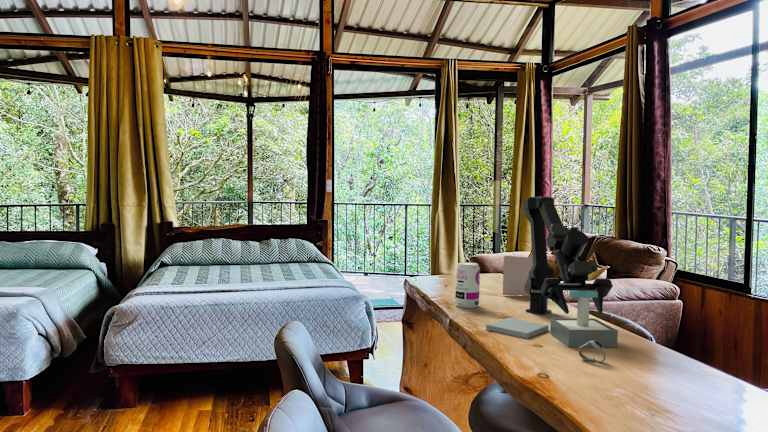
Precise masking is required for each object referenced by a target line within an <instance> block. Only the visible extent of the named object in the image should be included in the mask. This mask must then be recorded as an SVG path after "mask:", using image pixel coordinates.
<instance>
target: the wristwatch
mask: <svg viewBox="0 0 768 432" xmlns="http://www.w3.org/2000/svg"><path fill="white" fill-rule="evenodd" d="M588 344H591V345H593V347H592V348H594V349H596V350H598V351H599V352H600V353H601V354H602V357H603V359H602V360H597V359H596V358H592V357H589V356H587V355H584V354H583V353H582V351H581V349H583V348H585V347H584V346H586V345H588ZM578 355H579V357H580V358H582V360H583V361H586V362H589V363H594V362H597V363H596V364H602V363H603V362H605V361H606V358H607V355H606V351H605V347H603V346H602V345H601V344H600V343H598V342H597V341H589V342H587V343H586V344H584V345H582V346H580V347H578Z"/></svg>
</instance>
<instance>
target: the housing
mask: <svg viewBox="0 0 768 432" xmlns="http://www.w3.org/2000/svg"><path fill="white" fill-rule="evenodd" d="M556 320H577V317H576V318H570V317H569V318H564V317H563V318H562V317H560V318H559V317H558V318H555V317H554V318H550V324H549V325H550V328H549V329H550V331H549V334H550V335H551V336H552V337H554V338H555V339H556V340H558V341H559V342H560V343H562V344H563V345H564V344H565V345H564V346H566V347H568V348H579V347H580V346H582V345H584V344H586V343H587V342H589V341H597V342H598V343H600V344H601V345H602V346H603V347H604V348H618V336H619V335H618V332H619V331H618V330H617V329H616V328H615V327H612V326H611V325H608V324H606V323H605V322H602V321H601V320H599V319H597V318H592V317H591V318H590V317H589V320H594V321H596V322H597V323H599V324H601V325H603V326H605V327H607V328H609V329H610V330H570V329H568V328H567V327H565V326H564V325H562V324H561V323H559V322H558V321H556ZM583 348H594V347H593V345H591V344H588V345H586V346H584V347H583Z"/></svg>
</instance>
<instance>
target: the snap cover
mask: <svg viewBox="0 0 768 432" xmlns="http://www.w3.org/2000/svg"><path fill="white" fill-rule="evenodd" d="M569 297H571V298H577V304H576V305H577V307H576V308H577V311H576V318H577V320H556V321H558V322H559V323H561V324H562V325H564V326H565V327H567V328H568V329H570V330H610V329H609V328H607V327H605V326H603V325H601V324H599V323H597V322H596V321H594V320H589V318H590V298H592V297H598V292H597V291H571V290H569Z"/></svg>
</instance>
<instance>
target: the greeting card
mask: <svg viewBox="0 0 768 432" xmlns="http://www.w3.org/2000/svg"><path fill="white" fill-rule="evenodd" d="M532 266H533V257H527V256H516V255H515V256H514V255H503V266H502V267H503V268H502V269H503V271H502V274H503V275H502V296H503V295H522V296H521V297H530V295H529V294H527V293H525V289H524V286H525V284H526V281H527V279H528V277H529V271H530V269H531V267H532Z"/></svg>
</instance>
